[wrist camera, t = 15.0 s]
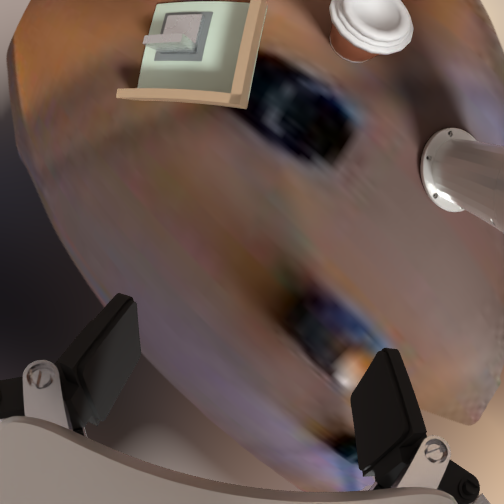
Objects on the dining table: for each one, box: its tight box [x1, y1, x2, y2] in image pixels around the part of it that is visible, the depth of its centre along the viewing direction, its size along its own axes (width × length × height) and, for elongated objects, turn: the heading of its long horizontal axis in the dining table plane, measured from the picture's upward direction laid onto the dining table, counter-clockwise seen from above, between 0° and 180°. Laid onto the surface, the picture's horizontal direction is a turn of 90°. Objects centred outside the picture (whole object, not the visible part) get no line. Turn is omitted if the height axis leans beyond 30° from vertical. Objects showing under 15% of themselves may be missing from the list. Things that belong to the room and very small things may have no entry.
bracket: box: [143, 14, 205, 54], centre depth 26 cm, size 6×5×6 cm
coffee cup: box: [329, 0, 414, 63], centre depth 22 cm, size 9×9×12 cm
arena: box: [116, 0, 267, 109], centre depth 28 cm, size 16×16×6 cm
